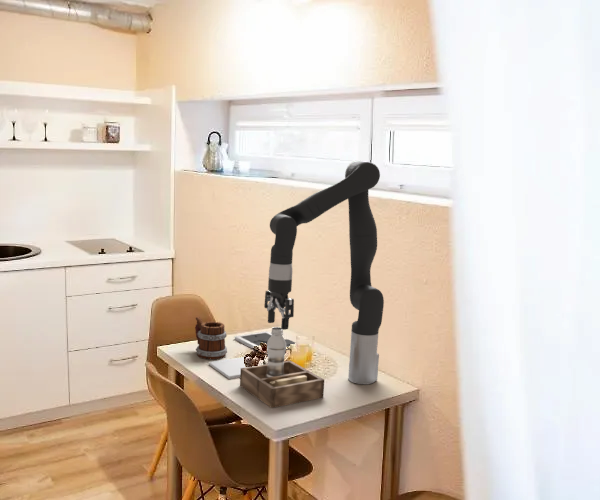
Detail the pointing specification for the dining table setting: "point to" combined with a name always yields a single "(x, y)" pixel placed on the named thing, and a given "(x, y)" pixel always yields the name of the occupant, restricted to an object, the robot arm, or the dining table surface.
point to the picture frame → (257, 339)
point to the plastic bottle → (276, 353)
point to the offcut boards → (288, 381)
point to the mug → (210, 339)
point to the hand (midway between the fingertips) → (277, 325)
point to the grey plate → (229, 367)
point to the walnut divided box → (285, 394)
